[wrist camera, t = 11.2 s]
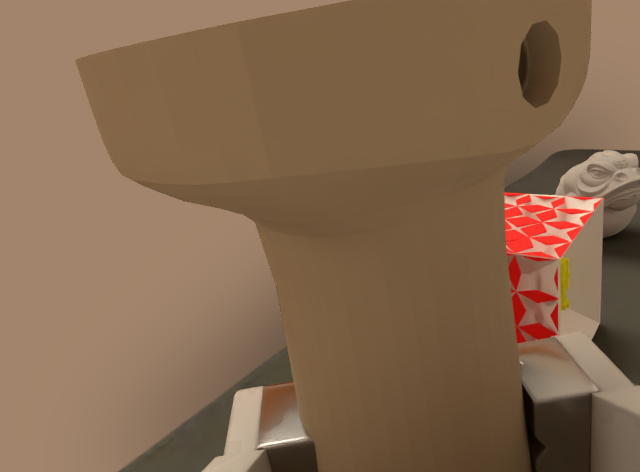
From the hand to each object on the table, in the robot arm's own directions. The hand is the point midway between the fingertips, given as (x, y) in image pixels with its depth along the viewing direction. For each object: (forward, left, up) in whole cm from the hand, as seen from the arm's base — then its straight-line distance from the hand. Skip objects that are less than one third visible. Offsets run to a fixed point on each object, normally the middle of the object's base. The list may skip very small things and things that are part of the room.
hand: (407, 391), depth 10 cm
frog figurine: (-24, -27, -13) cm, 38 cm away
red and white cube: (-11, -17, -13) cm, 24 cm away
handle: (0, +1, -9) cm, 9 cm away
